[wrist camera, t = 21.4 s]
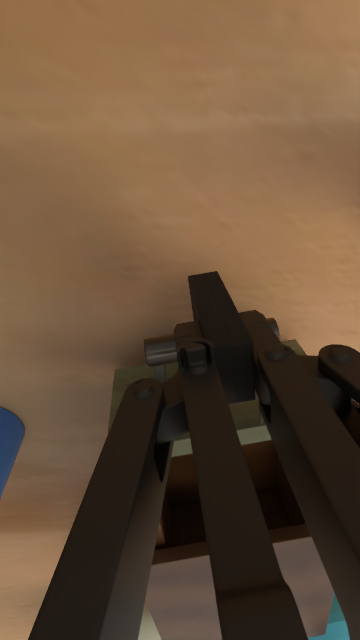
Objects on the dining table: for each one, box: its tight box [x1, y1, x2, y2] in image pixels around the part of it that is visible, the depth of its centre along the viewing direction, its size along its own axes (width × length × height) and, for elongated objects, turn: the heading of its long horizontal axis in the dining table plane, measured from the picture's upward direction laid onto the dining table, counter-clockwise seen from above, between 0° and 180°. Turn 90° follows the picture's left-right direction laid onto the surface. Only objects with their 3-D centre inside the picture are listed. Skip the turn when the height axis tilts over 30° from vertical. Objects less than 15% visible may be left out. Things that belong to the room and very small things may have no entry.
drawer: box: [108, 318, 307, 550], centre depth 23 cm, size 20×13×7 cm, turn 8°
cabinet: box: [145, 523, 334, 640], centre depth 30 cm, size 17×14×9 cm
